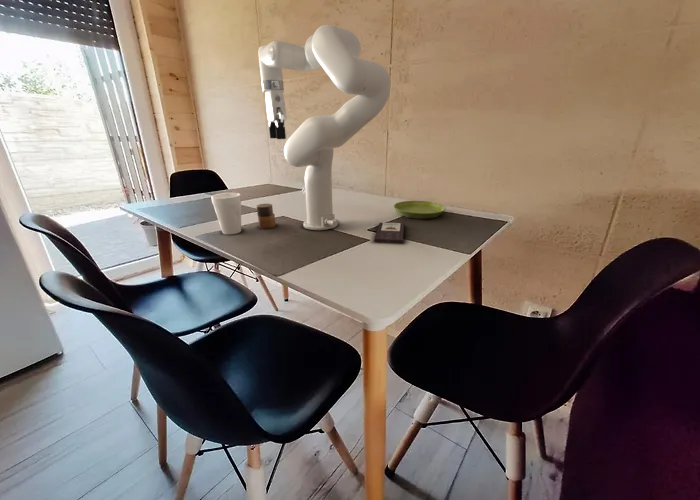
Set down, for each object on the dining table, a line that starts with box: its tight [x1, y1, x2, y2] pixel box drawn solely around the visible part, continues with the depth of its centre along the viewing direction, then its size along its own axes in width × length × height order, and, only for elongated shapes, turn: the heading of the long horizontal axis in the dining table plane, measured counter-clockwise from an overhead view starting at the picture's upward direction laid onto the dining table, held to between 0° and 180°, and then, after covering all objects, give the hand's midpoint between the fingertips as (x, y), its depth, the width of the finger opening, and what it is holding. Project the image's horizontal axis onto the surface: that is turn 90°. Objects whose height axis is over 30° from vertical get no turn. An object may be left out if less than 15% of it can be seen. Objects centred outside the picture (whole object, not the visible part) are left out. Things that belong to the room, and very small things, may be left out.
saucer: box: [393, 200, 446, 220], centre depth 128 cm, size 21×21×3 cm
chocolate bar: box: [373, 222, 405, 244], centre depth 106 cm, size 9×1×18 cm
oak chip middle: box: [257, 213, 276, 223], centre depth 115 cm, size 6×6×2 cm
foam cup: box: [210, 192, 242, 235], centre depth 109 cm, size 10×9×13 cm
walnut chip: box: [255, 203, 274, 217], centre depth 114 cm, size 6×6×4 cm
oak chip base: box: [258, 220, 277, 230], centre depth 116 cm, size 6×6×2 cm
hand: (277, 138), depth 117 cm, fingers open, 9 cm apart
